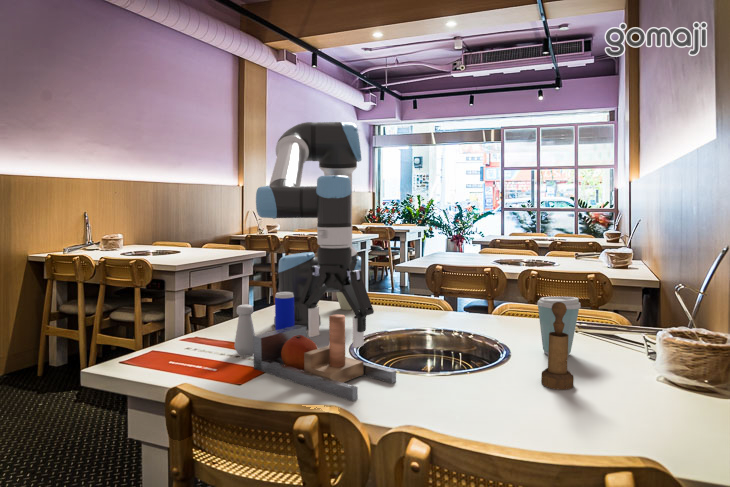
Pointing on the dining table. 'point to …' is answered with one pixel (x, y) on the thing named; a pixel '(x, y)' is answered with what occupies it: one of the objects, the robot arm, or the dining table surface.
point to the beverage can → (284, 310)
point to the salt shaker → (244, 331)
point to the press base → (271, 362)
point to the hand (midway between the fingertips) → (335, 340)
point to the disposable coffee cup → (549, 318)
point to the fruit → (296, 351)
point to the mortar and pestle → (558, 354)
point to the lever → (333, 355)
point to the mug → (343, 301)
